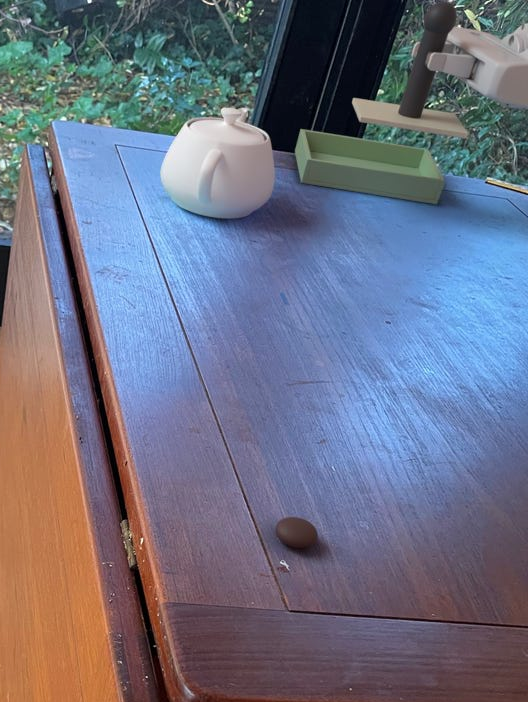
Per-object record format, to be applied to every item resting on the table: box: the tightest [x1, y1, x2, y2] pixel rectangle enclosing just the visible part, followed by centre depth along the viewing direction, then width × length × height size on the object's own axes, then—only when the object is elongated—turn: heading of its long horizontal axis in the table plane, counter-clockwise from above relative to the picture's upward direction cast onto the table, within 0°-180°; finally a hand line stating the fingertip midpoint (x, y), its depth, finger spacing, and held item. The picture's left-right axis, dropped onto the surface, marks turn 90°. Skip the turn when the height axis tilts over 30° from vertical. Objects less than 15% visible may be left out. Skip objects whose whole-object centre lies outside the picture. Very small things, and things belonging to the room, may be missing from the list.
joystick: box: [351, 1, 469, 139], centre depth 119 cm, size 13×9×13 cm
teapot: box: [159, 107, 276, 219], centre depth 118 cm, size 22×14×11 cm, turn 162°
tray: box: [294, 128, 446, 205], centre depth 136 cm, size 18×14×3 cm
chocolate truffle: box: [274, 516, 318, 549], centre depth 70 cm, size 3×3×2 cm
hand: (421, 55), depth 118 cm, fingers closed on joystick, 3 cm apart
